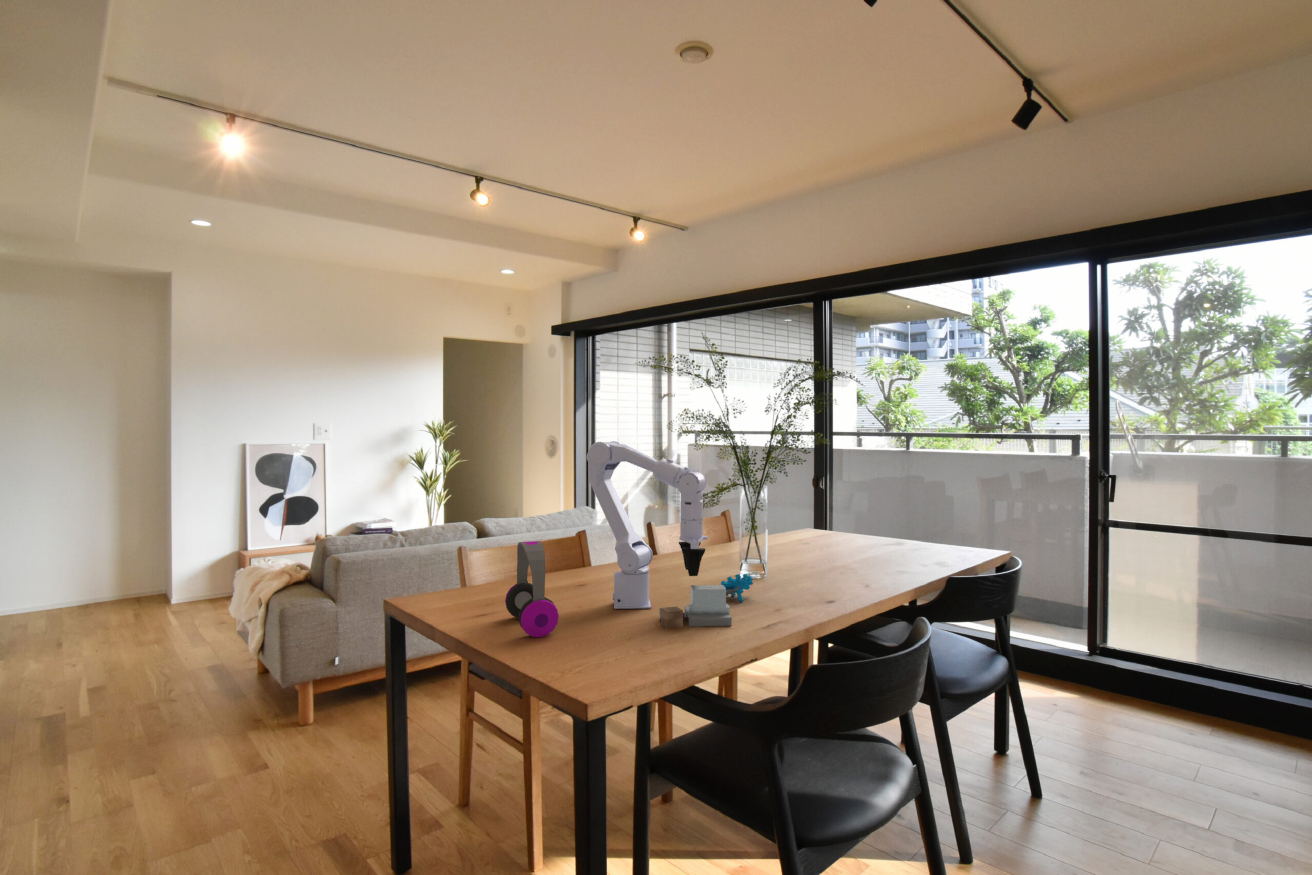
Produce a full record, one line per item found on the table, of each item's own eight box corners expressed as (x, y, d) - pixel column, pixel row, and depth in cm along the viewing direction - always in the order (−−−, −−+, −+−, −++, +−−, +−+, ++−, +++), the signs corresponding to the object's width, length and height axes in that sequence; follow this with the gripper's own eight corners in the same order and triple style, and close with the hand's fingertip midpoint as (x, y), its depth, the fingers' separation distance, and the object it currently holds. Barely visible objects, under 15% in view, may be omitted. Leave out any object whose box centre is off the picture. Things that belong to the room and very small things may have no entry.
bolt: (660, 621, 163) (660, 609, 163) (659, 618, 166) (659, 606, 166) (685, 620, 164) (685, 609, 164) (683, 617, 167) (683, 606, 167)
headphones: (503, 617, 167) (503, 536, 166) (538, 613, 170) (538, 533, 170) (521, 641, 147) (521, 550, 147) (561, 637, 151) (561, 547, 151)
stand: (689, 626, 159) (689, 618, 159) (684, 614, 169) (684, 606, 169) (731, 625, 160) (731, 617, 160) (724, 614, 170) (724, 606, 170)
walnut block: (666, 629, 157) (666, 611, 157) (661, 624, 161) (661, 607, 161) (682, 627, 159) (682, 610, 159) (676, 623, 162) (676, 606, 162)
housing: (688, 614, 162) (688, 589, 162) (686, 609, 166) (686, 585, 166) (730, 614, 163) (730, 589, 163) (727, 609, 167) (727, 584, 167)
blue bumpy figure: (748, 588, 191) (754, 568, 184) (755, 606, 187) (762, 587, 180) (711, 595, 188) (715, 576, 181) (717, 614, 185) (722, 595, 177)
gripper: (711, 522, 165) (711, 578, 165) (703, 515, 180) (703, 566, 180) (682, 523, 165) (682, 578, 165) (676, 515, 179) (676, 566, 179)
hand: (691, 572), depth 172 cm, fingers open, 7 cm apart
